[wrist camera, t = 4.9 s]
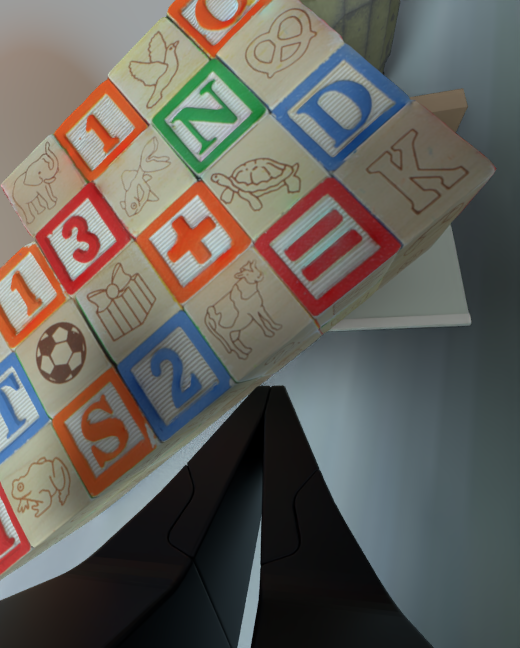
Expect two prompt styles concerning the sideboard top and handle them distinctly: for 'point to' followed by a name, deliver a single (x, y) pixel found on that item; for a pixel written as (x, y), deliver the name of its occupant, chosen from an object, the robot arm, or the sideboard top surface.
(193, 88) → the stack of blocks
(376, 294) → the dock pad
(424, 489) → the sideboard top surface
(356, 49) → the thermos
